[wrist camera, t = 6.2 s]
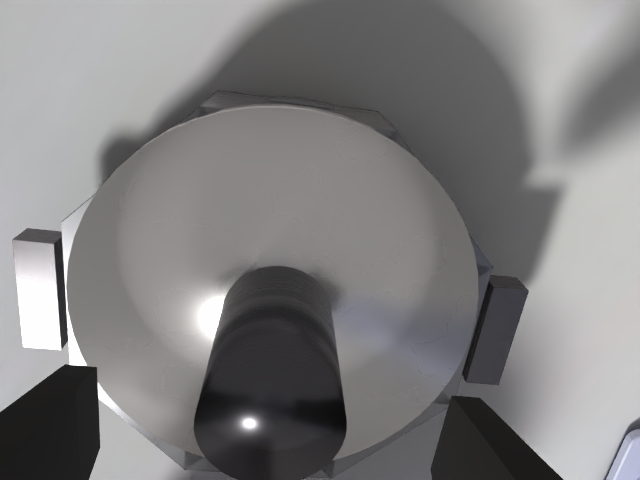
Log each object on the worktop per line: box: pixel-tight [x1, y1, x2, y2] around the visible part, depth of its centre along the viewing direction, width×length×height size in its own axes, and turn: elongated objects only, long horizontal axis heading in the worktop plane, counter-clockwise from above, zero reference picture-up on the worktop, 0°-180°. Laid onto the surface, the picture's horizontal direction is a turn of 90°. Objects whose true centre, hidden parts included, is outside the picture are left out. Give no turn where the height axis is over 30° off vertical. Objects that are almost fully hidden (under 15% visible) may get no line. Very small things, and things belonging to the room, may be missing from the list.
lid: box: [66, 104, 479, 480], centre depth 12 cm, size 10×10×5 cm
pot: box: [12, 91, 529, 478], centre depth 15 cm, size 14×11×3 cm
